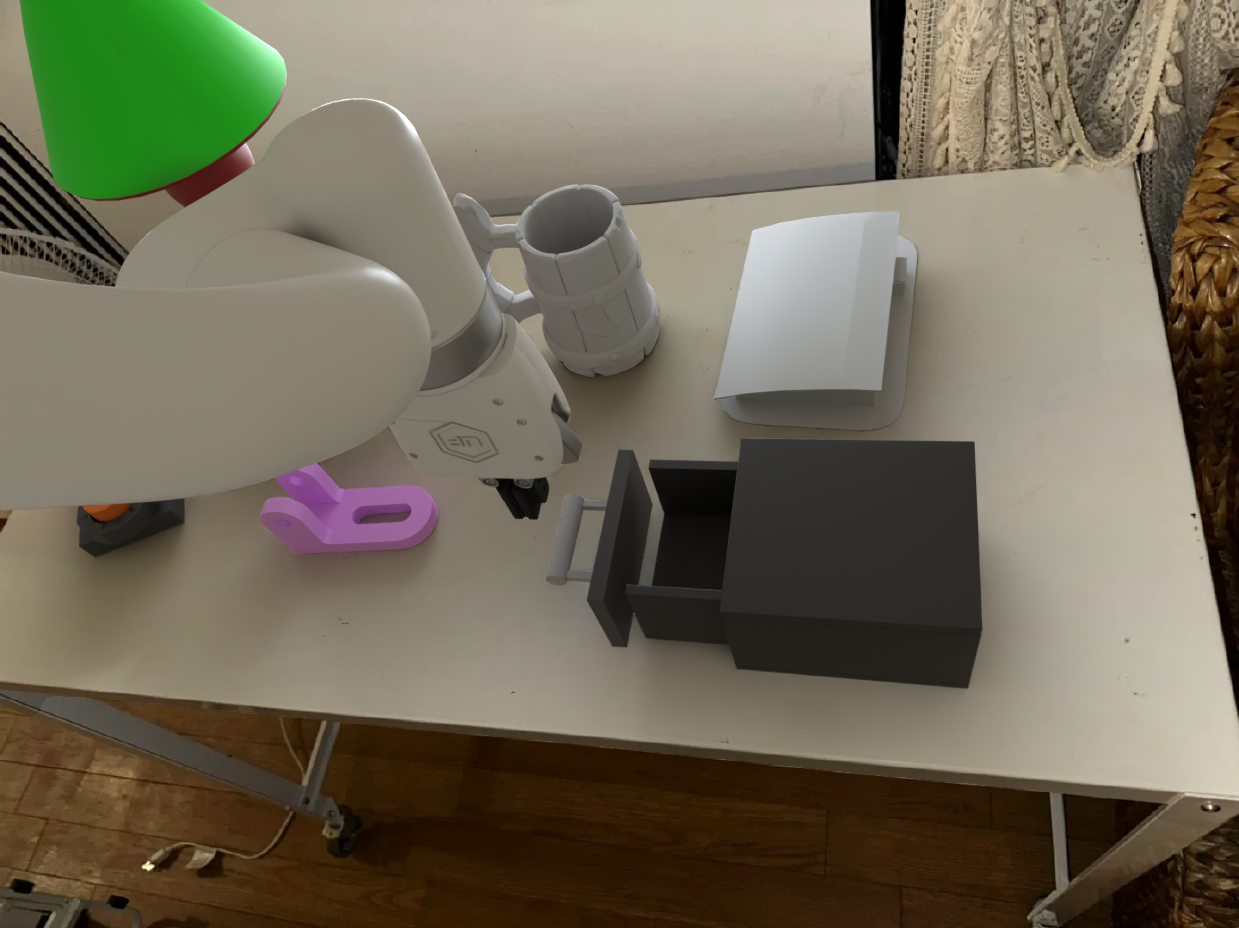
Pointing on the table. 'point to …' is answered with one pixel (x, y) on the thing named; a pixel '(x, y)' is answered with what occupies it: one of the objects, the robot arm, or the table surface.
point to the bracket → (345, 515)
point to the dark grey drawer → (684, 558)
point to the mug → (573, 276)
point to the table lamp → (147, 95)
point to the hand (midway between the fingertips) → (531, 501)
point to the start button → (107, 511)
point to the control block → (128, 525)
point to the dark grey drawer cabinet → (855, 560)
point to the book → (822, 324)
